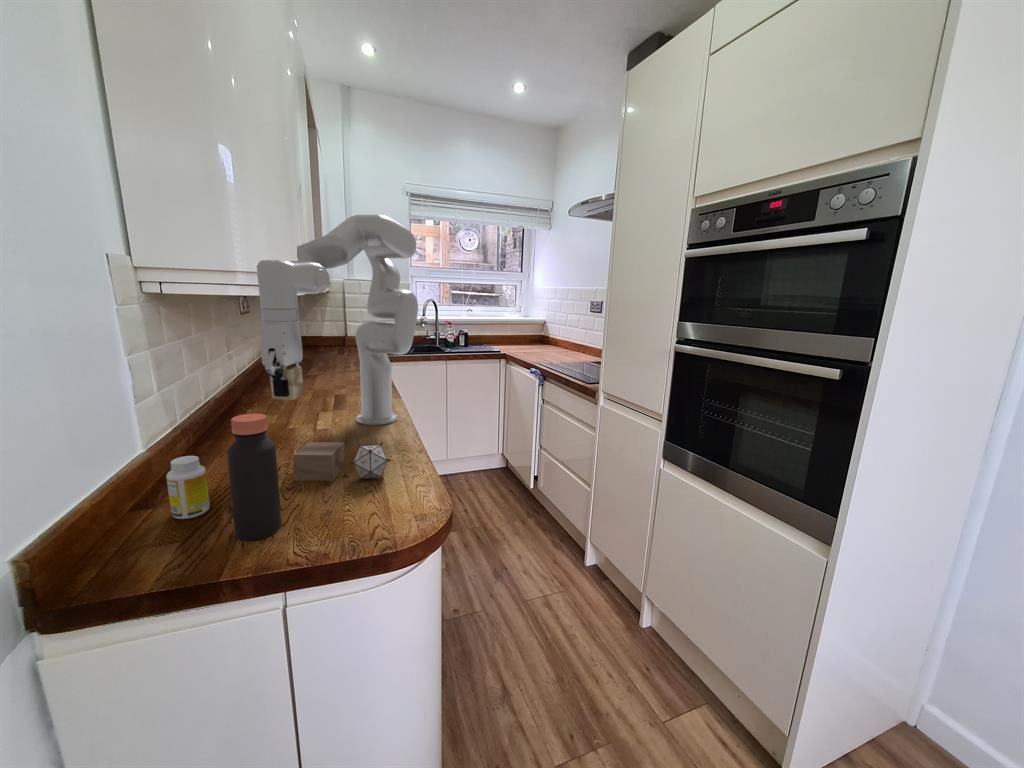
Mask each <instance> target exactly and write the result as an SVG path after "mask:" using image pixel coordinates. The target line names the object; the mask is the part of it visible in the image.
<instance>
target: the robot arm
mask: <svg viewBox="0 0 1024 768" xmlns="http://www.w3.org/2000/svg"><path fill="white" fill-rule="evenodd" d="M415 237H416V236H415V235H414V233H412V231H411V230H410V229H408V228H406V227H405V226H403V225H402V224H401V223H399V222H397V221H395V220H394V219H393V218H390V217H389V216H386V215H383V214H355V215H351V216H349V217H348V218H346V219H344V221H342V222H341V223H340V224H339V225H337V226H336V227H335V228H333V229H332V230H330V231H329V232H328V233H326V234H325V235H323V236H321V237H318V238H314V239H312V240H310V241H308V242H305V243H302V244H300V245H297V246H296V247H297V258H298V261H279V260H276V259H261V260H259V261H258V262H259V263H258V262H257V263H258V265H257V264H256V275H257V283H258V294H259V302H260V313H261V320H262V321H261V322H262V324H261V332H260V333H261V334H260V346H261V347H260V348H261V349H260V350H261V362H262V365H263V367H264V370H265V371H266V372H267V373H268V374H269V377H270V376H271V380H273V389H274V396H277V397H287V396H289V387H288V380H285V379H286V367H287V366H301V365H302V361H303V360H304V359H303V358H304V357H303V352H304V351H303V343H302V341H303V340H302V335H301V330H300V325H299V323H300V322H301V321H300V312H299V310H300V309H299V302H298V301H299V299H298V294H306V295H317V294H319V293H323V292H324V291H325V290H326V289H327V288H328V287H329V285H330V281H331V280H330V279H331V278H330V274H329V272H328V271H327V270H329V269H334V268H339V267H341V266H345V265H347V264H349V263H350V262H351V261H352V260H353V259H354V258H355V257H357V256H358V255H359V254H361V252H362V251H364V252H365V255H366V256H367V257H366V258H368V261H369V263H370V266H371V270H372V276H371V277H372V278H371V282H370V288H369V293H368V297H367V298H368V299H367V304H366V305H367V306H366V310H367V313H368V314H369V316H371V317H372V318H374V319H380V320H390V321H394V322H386V321H384V322H382V321H367V322H363V323H361V324H360V325H359V326H358V327H357V328H356V331H355V343H356V346H357V350H358V356H359V371H360V372H359V374H360V376H359V377H360V379H359V380H360V404H361V405H360V407H361V409H360V411H361V413H360V414H358V415H357V416H356V418H355V419H356V422H357V423H359V424H361V425H366V426H367V425H368V426H381V425H387V424H391V423H394V422H396V421H397V420H398V415H397V414H396V413H395V412H393V399H392V398H393V384H392V383H393V382H392V381H393V380H392V379H393V378H392V374H393V373H392V372H393V371H392V369H393V368H392V363H391V360H390V359H389V357H388V355H401V356H402V355H406V354H407V353H409V352H410V350H411V347H412V345H413V341H414V335H415V330H416V327H417V325H416V324H417V321H418V320H417V319H418V313H419V303H418V298H417V296H416V294H415V293H414V292H412V291H410V290H408V289H400V283H401V275H400V271H399V269H398V268H397V266H396V264H395V263H394V261H393V260H392V259H409V258H411V257H413V256H414V254H415V252H416V251H417V241H416V240H417V239H416V238H415ZM277 364H279V365H277ZM301 367H302V366H301ZM277 369H281V373H280V372H279V370H277Z"/></svg>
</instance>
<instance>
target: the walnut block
mask: <svg viewBox="0 0 1024 768" xmlns="http://www.w3.org/2000/svg"><path fill="white" fill-rule="evenodd" d="M344 444H345V443H344V442H327V441H326V442H323V441H322V442H320V441H319V442H318V441H317V442H316V441H308V442H306V443H305V444H303V446H302V447H301V448H299V449H297V450H296V451H295V452H294V453H293V454H292V458H293V462H292V463H293V474H294V475H293V476H294V481H325V482H326V481H327V482H329V481H331V482H333V481H334V480H335V478H337V476H338V474H339V473H340V472H341V471H342V470H343V468H345V449H344Z"/></svg>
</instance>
